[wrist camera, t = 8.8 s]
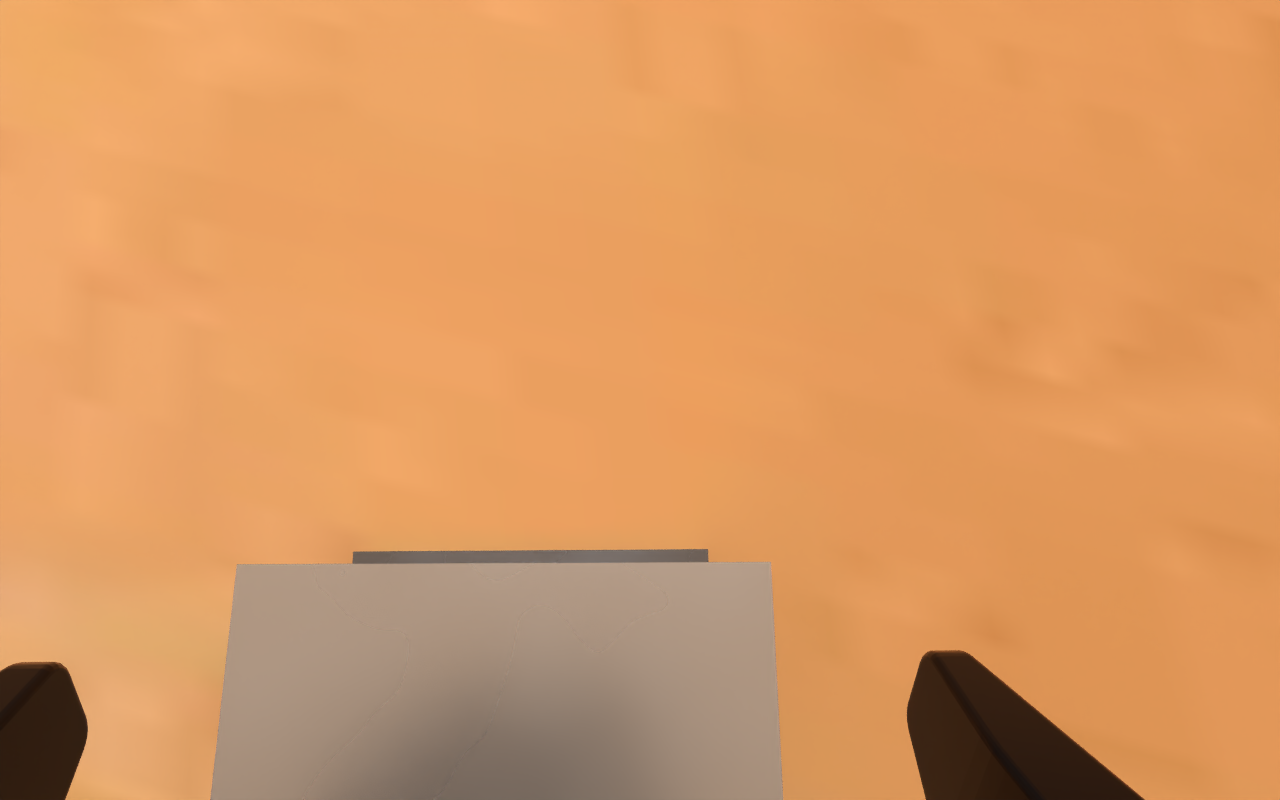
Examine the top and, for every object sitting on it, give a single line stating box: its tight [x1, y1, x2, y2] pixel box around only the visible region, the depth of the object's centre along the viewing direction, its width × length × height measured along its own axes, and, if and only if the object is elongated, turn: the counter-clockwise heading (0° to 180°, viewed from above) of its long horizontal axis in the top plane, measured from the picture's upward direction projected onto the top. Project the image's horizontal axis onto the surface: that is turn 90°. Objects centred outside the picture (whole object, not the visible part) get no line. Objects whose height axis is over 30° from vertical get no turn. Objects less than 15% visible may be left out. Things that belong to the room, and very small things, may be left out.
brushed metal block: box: [210, 562, 783, 800], centre depth 12 cm, size 5×5×9 cm
